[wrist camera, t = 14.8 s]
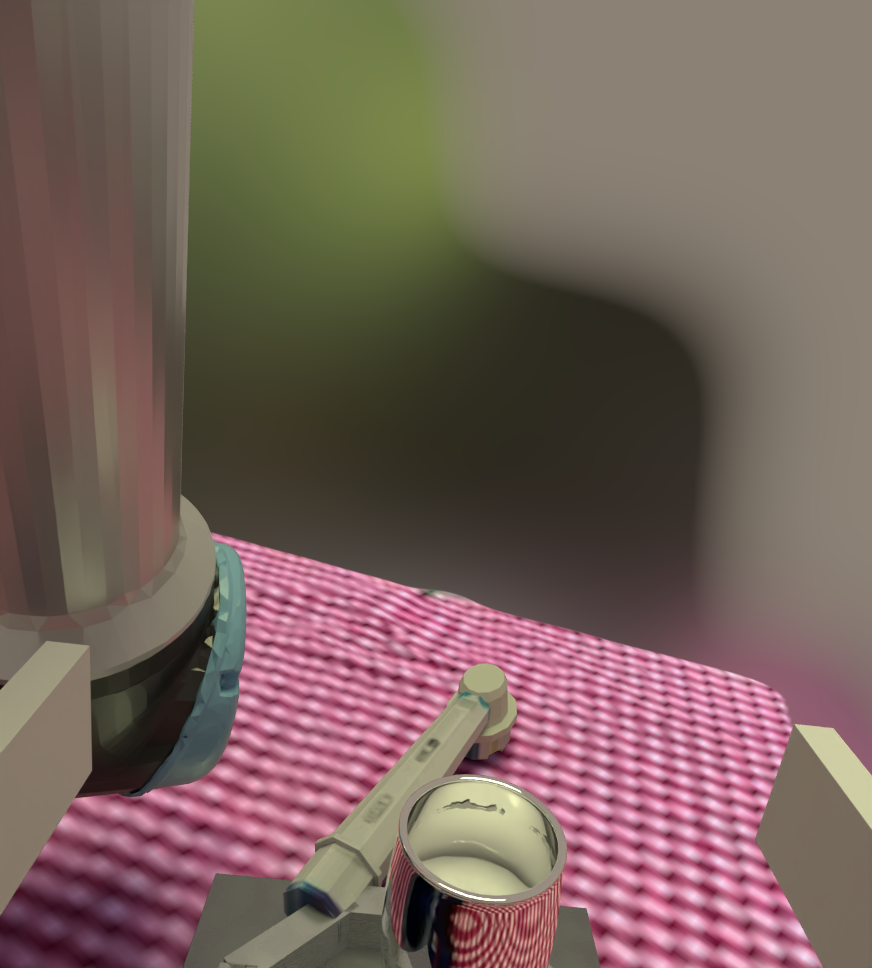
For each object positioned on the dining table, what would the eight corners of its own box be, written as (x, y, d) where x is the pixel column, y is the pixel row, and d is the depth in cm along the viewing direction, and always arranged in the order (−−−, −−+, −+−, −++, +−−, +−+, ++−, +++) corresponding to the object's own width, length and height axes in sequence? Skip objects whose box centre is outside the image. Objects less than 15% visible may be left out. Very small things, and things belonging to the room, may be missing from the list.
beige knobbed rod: (270, 868, 40) (471, 635, 60) (276, 950, 43) (467, 701, 63) (351, 912, 38) (532, 656, 58) (352, 997, 41) (525, 723, 61)
